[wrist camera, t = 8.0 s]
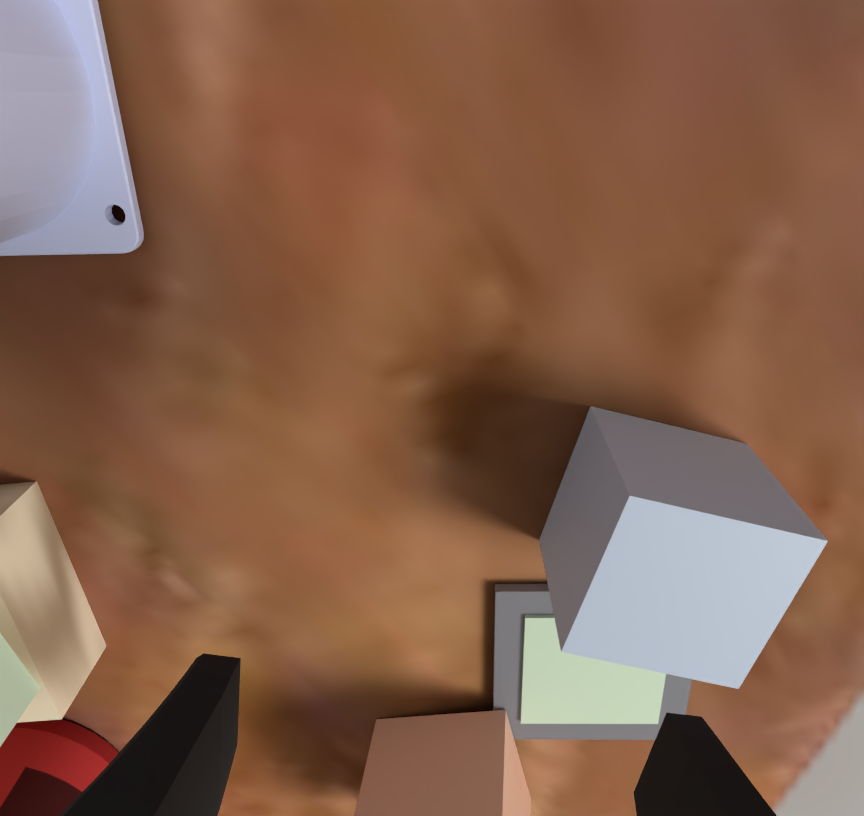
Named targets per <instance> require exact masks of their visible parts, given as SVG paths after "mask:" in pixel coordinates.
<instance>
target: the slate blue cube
mask: <svg viewBox="0 0 864 816" xmlns="http://www.w3.org/2000/svg"><path fill="white" fill-rule="evenodd" d="M539 542H540V547H541V552H542V557H543V562H544V567H545V573H546V578H547V583H548V588H549V593H550V598H551V603H552V608H553V613H554V618H555V623H556V628H557V634H558V639H559V644H560V649H561V652H564V653H569V654H573V655H578V656H583V657H588V658H593V659H597V660H602V661H607V662H612V663H617V664H621V665H626V666H631V667H636V668H641V669H646V670H650V671H655V672H660V673H665V674H670V675H674V676H679V677H684V678H689V679H694V680H698V681H703V682H708V683H713V684H718V685H723V686H727V687H732V688H737V689H739V687H740V686H741V684H742V682H743V681H744V679H745V677H746V676H747V674H748V672H749V671H750V669H751V667H752V666H753V664H754V662H755V661H756V659H757V657H758V656H759V654H760V653H761V651H762V649H763V648H764V646H765V644H766V643H767V641H768V639H769V638H770V636H771V634H772V633H773V631H774V629H775V628H776V626H777V624H778V623H779V621H780V619H781V618H782V616H783V615H784V613H785V611H786V610H787V608H788V606H789V605H790V603H791V601H792V600H793V598H794V596H795V595H796V593H797V591H798V590H799V588H800V586H801V585H802V583H803V581H804V580H805V578H806V577H807V575H808V573H809V572H810V570H811V568H812V567H813V565H814V563H815V562H816V560H817V558H818V557H819V555H820V553H821V552H822V550H823V548H824V547H825V545H826V543H827V542H828V541H827V539H826V538H825V537H824V536H823V535H822V533H821V532H820V531H819V530H818V528H817V527H816V526H815V525H814V524H813V522H812V521H811V520H810V519H809V518H808V516H807V515H806V514H805V513H804V512H803V510H802V509H801V508H800V507H799V506H798V504H797V503H796V502H795V501H794V500H793V498H792V497H791V496H790V495H789V494H788V492H787V491H786V490H785V489H784V487H783V486H782V485H781V484H780V483H779V481H778V480H777V479H776V478H775V477H774V475H773V474H772V473H771V472H770V471H769V469H768V468H767V467H766V466H765V465H764V463H763V462H762V461H761V460H760V459H759V457H758V456H757V455H756V454H755V452H754V451H753V450H752V449H751V448H750V446H749V445H748V444H746V443H742V442H738V441H734V440H730V439H726V438H721V437H717V436H713V435H709V434H705V433H700V432H696V431H692V430H688V429H684V428H680V427H675V426H671V425H667V424H663V423H659V422H655V421H650V420H646V419H642V418H638V417H634V416H630V415H625V414H621V413H617V412H613V411H609V410H605V409H600V408H596V407H592V406H590V409H589V411H588V414H587V416H586V419H585V422H584V424H583V427H582V429H581V432H580V435H579V437H578V440H577V443H576V445H575V448H574V450H573V453H572V456H571V458H570V461H569V463H568V466H567V469H566V471H565V474H564V476H563V479H562V482H561V484H560V487H559V489H558V492H557V495H556V497H555V500H554V502H553V505H552V508H551V510H550V513H549V516H548V518H547V521H546V523H545V526H544V529H543V531H542V534H541V536H540V539H539Z"/></svg>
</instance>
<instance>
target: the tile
mask: <svg viewBox="0 0 864 816" xmlns="http://www.w3.org/2000/svg"><path fill="white" fill-rule="evenodd" d="M691 682H692V679H689V678H684V677H679V676H674V675H670V674H665V673H660V672H655V671H650V670H646V669H641V668H636V667H631V666H626V665H621V664H617V663H612V662H607V661H602V660H597V659H593V658H588V657H583V656H578V655H573V654H569V653H564V652H561V649H560V644H559V639H558V634H557V628H556V623H555V618H554V613H553V608H552V603H551V598H550V593H549V588H548V584H495V605H494V663H493V711H497V710H506V713H507V716H508V720H509V723H510V727H511V730H512V734H513V738H514V739H582V740H655V739H656V737H657V735H658V732H659V730H660V727H661V725H662V722H663V720H664V717H665V715H666V713H675V714H683V715H686V710H687V704H688V699H689V693H690V688H691Z"/></svg>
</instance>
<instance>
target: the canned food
mask: <svg viewBox="0 0 864 816" xmlns="http://www.w3.org/2000/svg"><path fill="white" fill-rule="evenodd" d="M118 753H119V752H118V751H117V750H115V749H114V748H113V747H112V746H111V745H110V744H109V743H108V742H107V741H106V740H104V739H103V738H101V737H100V736H98V735H97V734H95V733H94V732H92V731H90V730H88V729H86V728H84V727H82V726H80V725H77V724H75V723H72V722H69V721H66V720H63V719H61V720H47V721H33V722H19V723H16V725H15V726H14V728H13V729H12V730H11V732H10V733H9V735H8V736H7V738H6V739H5V741H4V742H3V744H2V745H1V747H0V816H59V815H60V814H61V813H62V812H63V811H64V810H65V809H66V808H67V807H68V806H69V805H70V804H71V803H72V802H73V801H74V800H75V799H76V798H77V797H78V796H79V795H80V794H81V793H82V792H83V791H84V790H85V789H86V788H87V787H88V786H89V785H90V784H91V783H92V782H93V781H94V779H95V778H96V777H97V776H98V775H99V774H100V773H101V772H102V771H103V770H104V769H105V768H106V767H107V766H108V765H109V764H110V762H111V761H112V760H113V759H114V758H115V757H116V756H117V755H118Z"/></svg>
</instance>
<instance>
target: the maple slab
mask: <svg viewBox="0 0 864 816" xmlns="http://www.w3.org/2000/svg"><path fill="white" fill-rule="evenodd" d="M0 633H1V635H2V636H3V637H4V639H5V640H6V641H7V643H8V644H9V646H10V647H11V648H12V650H13V651H14V652H15V654H16V655H17V657H18V658H19V659H20V661H21V662H22V663H23V665H24V666H25V668H26V669H27V670H28V672H29V673H30V674H31V676H32V677H33V679H34V680H35V681H36V683H37V684H38V685H39V687H40V689H39V691H38V692H37V694H36V695H35V697H34V698H33V700H32V701H31V703H30V704H29V706H28V707H27V708H26V710H25V711H24V713H23V714H22V716H21V717H20V719H19V720H18V722H17V723H19V722H33V721H47V720H61V719H62V718H63V716H64V715H65V713H66V712H67V710H68V708H69V707H70V705H71V703H72V702H73V700H74V698H75V697H76V695H77V694H78V692H79V690H80V689H81V687H82V685H83V684H84V682H85V681H86V679H87V677H88V676H89V674H90V672H91V671H92V669H93V668H94V666H95V664H96V663H97V661H98V659H99V658H100V656H101V655H102V653H103V651H104V650H105V648H106V644H105V641H104V639H103V637H102V634H101V632H100V630H99V627H98V625H97V623H96V620H95V618H94V615H93V613H92V611H91V608H90V606H89V604H88V601H87V599H86V597H85V594H84V592H83V590H82V587H81V585H80V582H79V580H78V578H77V575H76V573H75V571H74V568H73V566H72V564H71V561H70V559H69V556H68V554H67V552H66V549H65V547H64V545H63V542H62V540H61V538H60V535H59V533H58V531H57V528H56V526H55V523H54V521H53V519H52V516H51V514H50V512H49V509H48V507H47V505H46V502H45V500H44V497H43V495H42V493H41V490H40V488H39V486H38V483H37V481H34V482H24V483H14V484H4V485H0Z"/></svg>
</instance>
